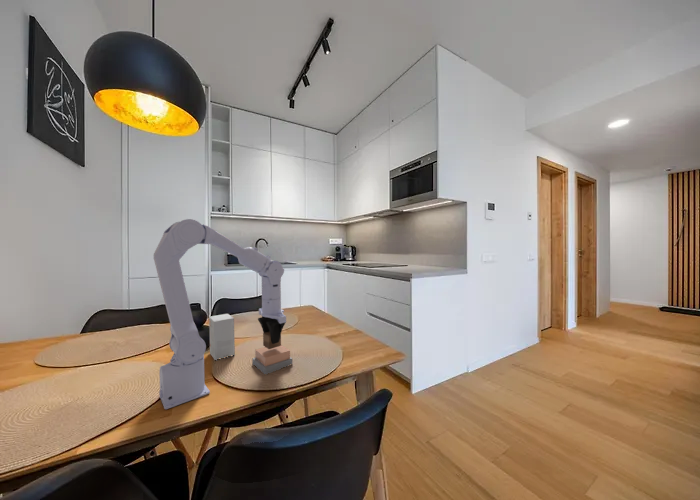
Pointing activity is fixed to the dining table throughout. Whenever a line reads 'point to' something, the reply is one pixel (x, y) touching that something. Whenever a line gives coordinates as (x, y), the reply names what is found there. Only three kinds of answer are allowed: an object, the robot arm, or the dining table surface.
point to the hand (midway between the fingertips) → (272, 340)
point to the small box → (221, 336)
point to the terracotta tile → (272, 355)
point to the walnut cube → (269, 341)
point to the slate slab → (271, 367)
